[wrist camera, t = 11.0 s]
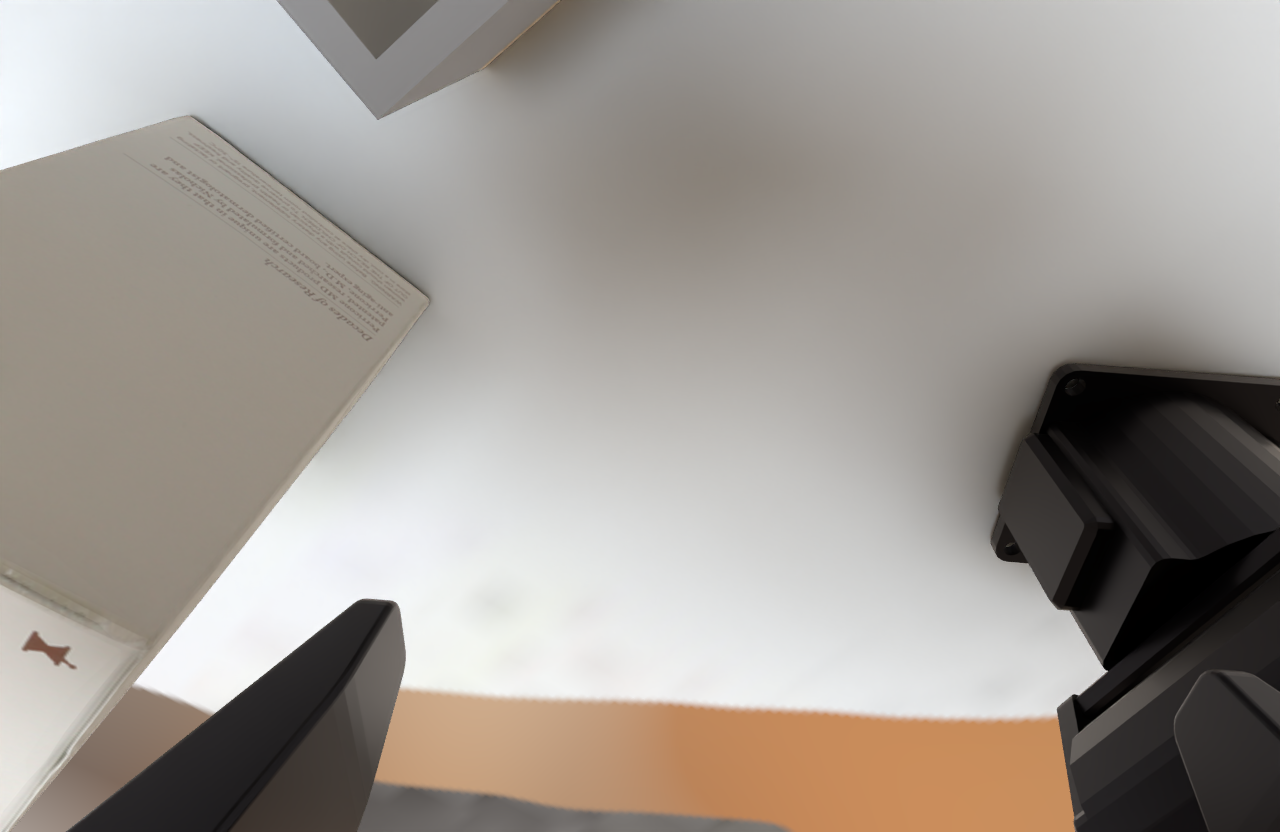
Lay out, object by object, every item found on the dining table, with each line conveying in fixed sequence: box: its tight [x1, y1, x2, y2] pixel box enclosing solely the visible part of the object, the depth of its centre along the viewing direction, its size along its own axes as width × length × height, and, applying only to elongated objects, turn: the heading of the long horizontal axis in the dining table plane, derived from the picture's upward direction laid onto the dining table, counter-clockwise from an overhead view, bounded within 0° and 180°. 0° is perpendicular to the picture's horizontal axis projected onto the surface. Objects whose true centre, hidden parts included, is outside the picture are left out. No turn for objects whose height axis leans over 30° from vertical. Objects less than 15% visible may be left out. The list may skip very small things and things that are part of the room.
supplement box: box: [0, 116, 430, 832], centre depth 16 cm, size 7×7×13 cm
